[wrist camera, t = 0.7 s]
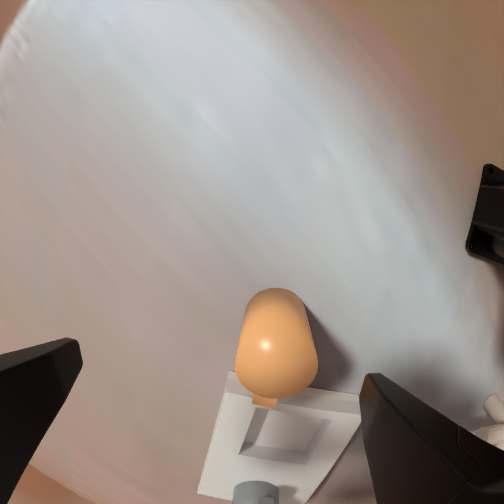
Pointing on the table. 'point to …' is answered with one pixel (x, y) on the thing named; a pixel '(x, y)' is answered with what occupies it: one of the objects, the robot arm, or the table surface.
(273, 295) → the orange rounded tapered piece
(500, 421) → the pipe connector
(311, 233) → the table surface
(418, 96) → the table surface
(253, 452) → the housing
